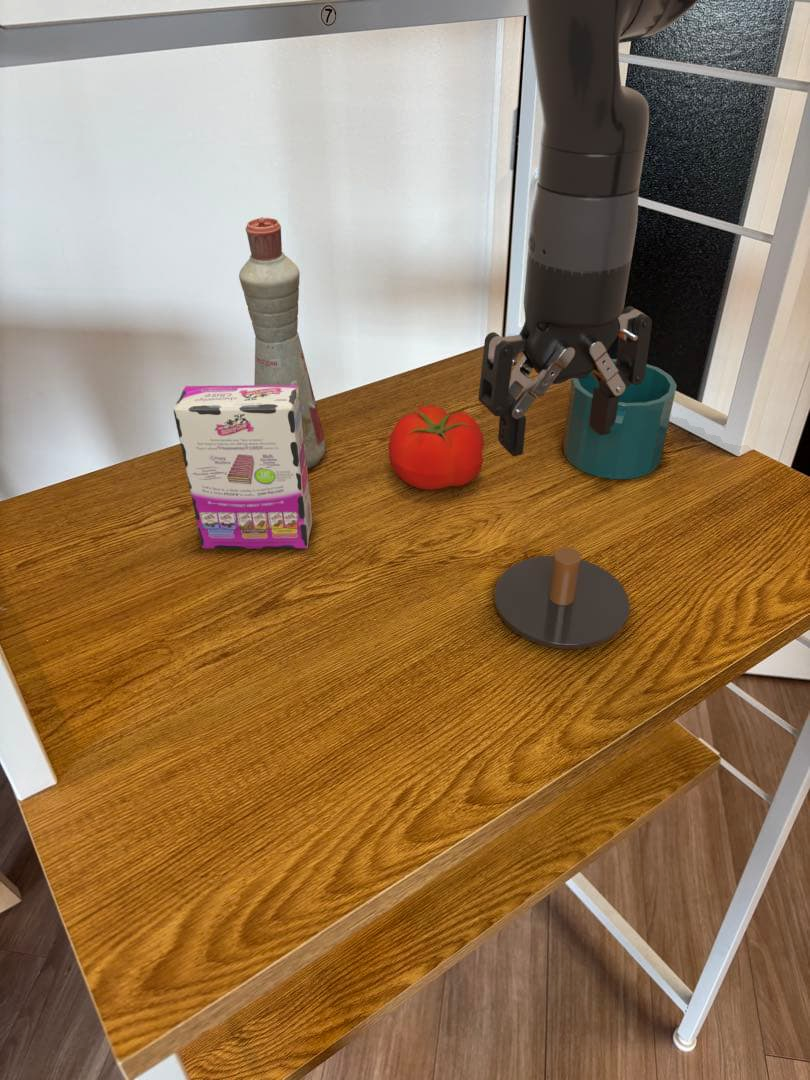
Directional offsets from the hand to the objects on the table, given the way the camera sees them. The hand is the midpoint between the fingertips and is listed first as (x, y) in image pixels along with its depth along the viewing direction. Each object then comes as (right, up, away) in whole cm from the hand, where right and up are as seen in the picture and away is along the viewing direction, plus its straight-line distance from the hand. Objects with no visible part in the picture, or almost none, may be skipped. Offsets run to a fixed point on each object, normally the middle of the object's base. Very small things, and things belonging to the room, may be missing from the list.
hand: (556, 440), depth 70 cm
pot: (+12, +2, +29) cm, 31 cm away
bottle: (-27, +1, +29) cm, 39 cm away
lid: (+2, -14, +7) cm, 16 cm away
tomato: (-9, -1, +25) cm, 27 cm away
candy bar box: (-28, -8, +17) cm, 34 cm away
